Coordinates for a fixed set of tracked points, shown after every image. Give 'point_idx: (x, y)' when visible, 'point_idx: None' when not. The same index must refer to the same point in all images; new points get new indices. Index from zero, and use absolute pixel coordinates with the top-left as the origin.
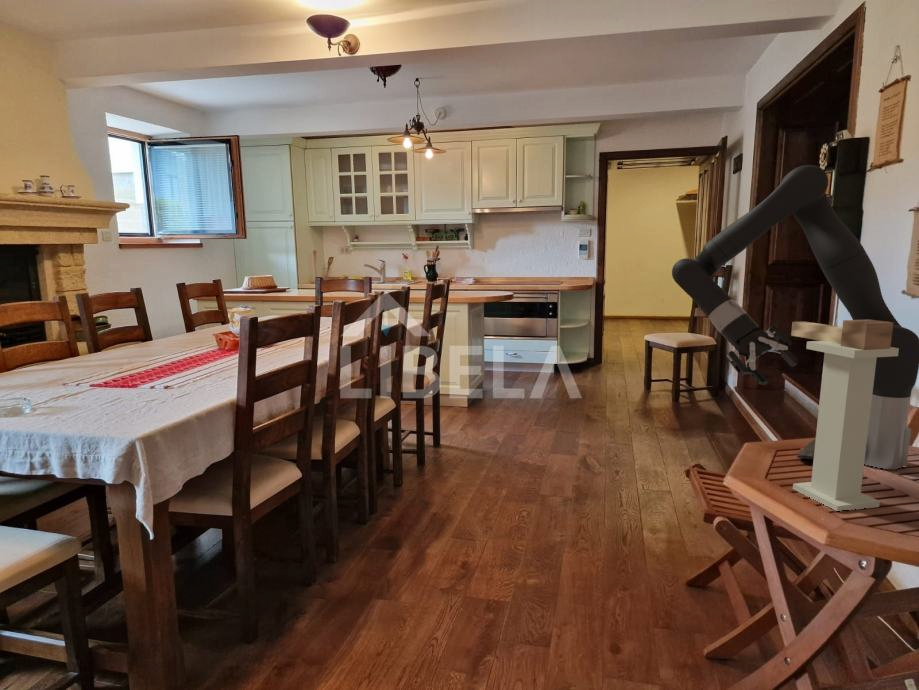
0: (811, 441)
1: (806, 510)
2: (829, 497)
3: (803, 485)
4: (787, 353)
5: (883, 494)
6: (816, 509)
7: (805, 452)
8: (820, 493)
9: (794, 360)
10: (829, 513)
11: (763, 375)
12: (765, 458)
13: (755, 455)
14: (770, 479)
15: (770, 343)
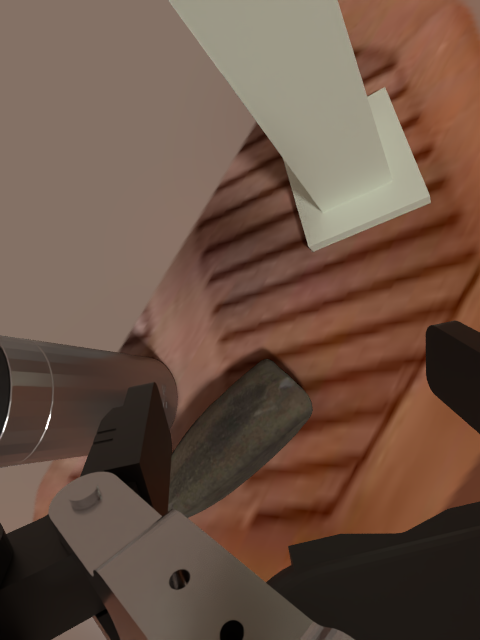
0: (232, 472)
1: (458, 79)
2: (377, 130)
3: (406, 189)
4: (128, 445)
5: (237, 220)
6: (429, 94)
7: (289, 399)
8: (386, 149)
9: (136, 396)
10: (408, 83)
11: (464, 344)
12: (402, 439)
13: (426, 469)
14: (467, 260)
15: (219, 586)
